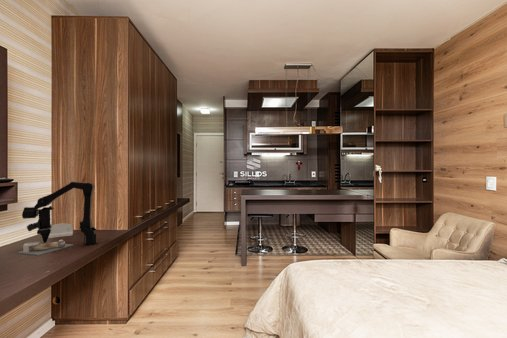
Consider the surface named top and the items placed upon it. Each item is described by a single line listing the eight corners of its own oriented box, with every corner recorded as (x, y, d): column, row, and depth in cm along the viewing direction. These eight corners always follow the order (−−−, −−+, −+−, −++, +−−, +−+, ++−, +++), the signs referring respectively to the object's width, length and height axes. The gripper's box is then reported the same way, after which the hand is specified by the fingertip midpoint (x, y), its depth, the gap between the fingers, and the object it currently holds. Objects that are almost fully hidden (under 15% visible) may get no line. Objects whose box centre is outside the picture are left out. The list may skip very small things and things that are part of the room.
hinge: (44, 238, 191) (45, 224, 193) (45, 239, 194) (46, 225, 197) (73, 235, 199) (73, 221, 202) (73, 236, 203) (73, 222, 206)
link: (64, 245, 170) (64, 240, 170) (64, 246, 166) (64, 242, 166) (34, 249, 161) (34, 244, 161) (33, 251, 158) (33, 246, 158)
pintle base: (73, 245, 172) (73, 237, 172) (39, 255, 152) (38, 247, 152) (52, 243, 177) (52, 236, 177) (16, 253, 157) (16, 244, 157)
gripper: (29, 216, 170) (29, 241, 170) (25, 221, 154) (26, 248, 154) (51, 214, 176) (51, 238, 176) (50, 219, 161) (50, 245, 161)
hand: (44, 242), depth 167 cm, fingers closed
